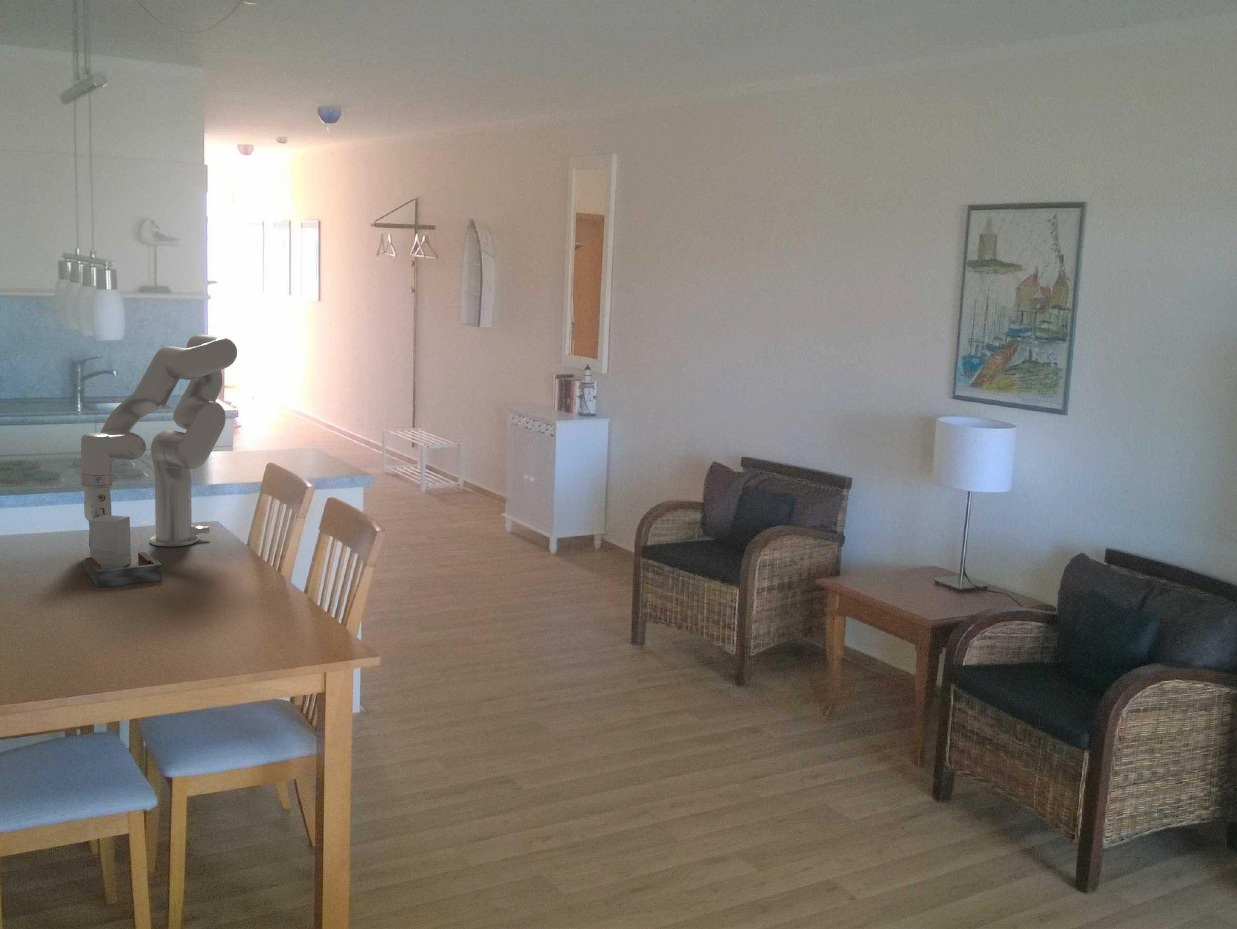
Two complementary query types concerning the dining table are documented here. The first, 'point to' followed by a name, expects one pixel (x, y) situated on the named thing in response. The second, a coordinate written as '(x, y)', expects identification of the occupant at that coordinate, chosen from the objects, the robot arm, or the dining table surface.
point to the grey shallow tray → (125, 572)
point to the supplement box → (110, 541)
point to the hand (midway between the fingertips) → (96, 547)
